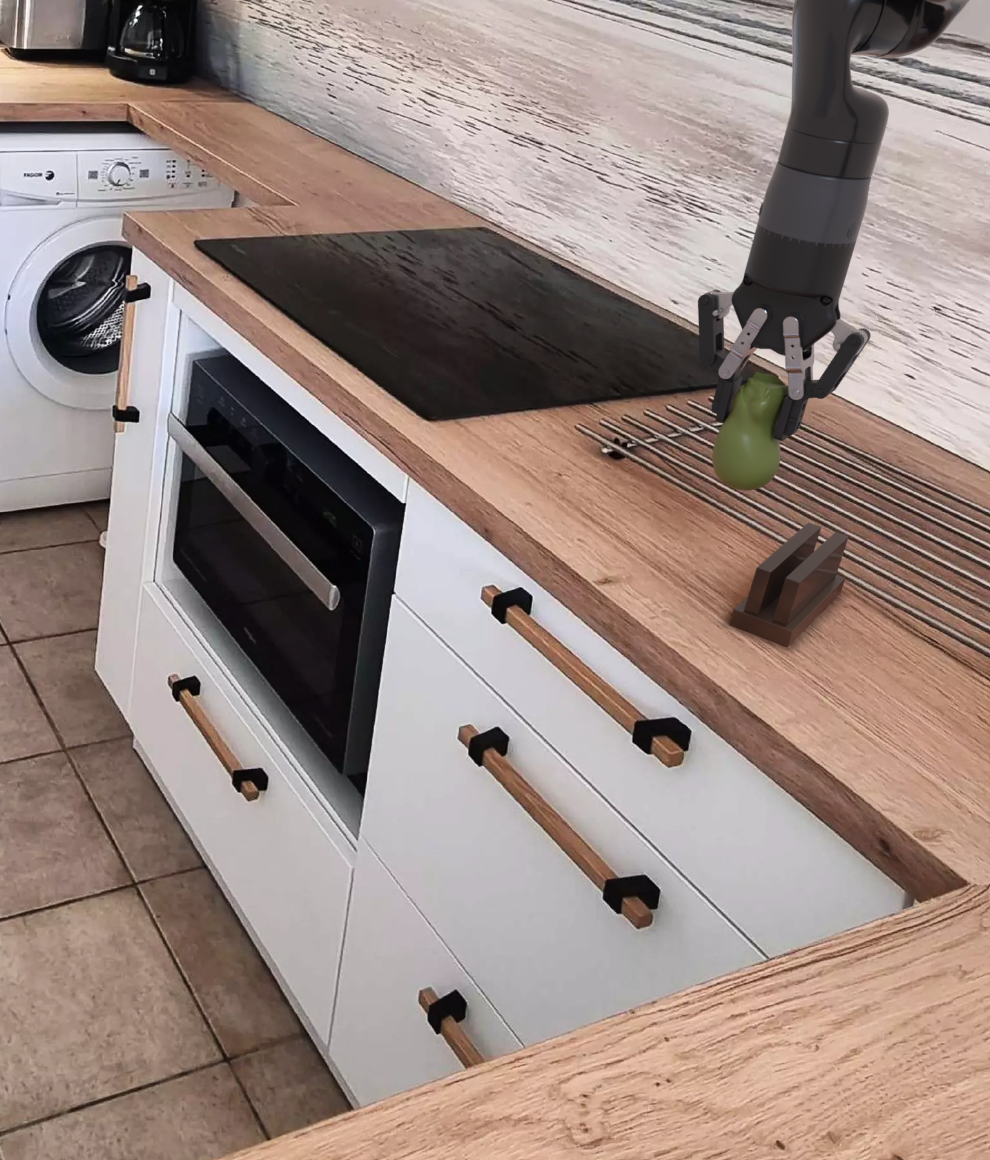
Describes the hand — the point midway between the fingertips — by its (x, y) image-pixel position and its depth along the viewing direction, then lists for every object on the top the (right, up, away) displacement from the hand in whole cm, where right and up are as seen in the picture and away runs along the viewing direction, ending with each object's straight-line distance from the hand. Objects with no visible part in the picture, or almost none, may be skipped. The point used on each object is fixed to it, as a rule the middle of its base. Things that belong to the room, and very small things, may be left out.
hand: (751, 427), depth 127 cm
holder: (+4, -15, +3) cm, 16 cm away
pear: (0, -5, +2) cm, 6 cm away
